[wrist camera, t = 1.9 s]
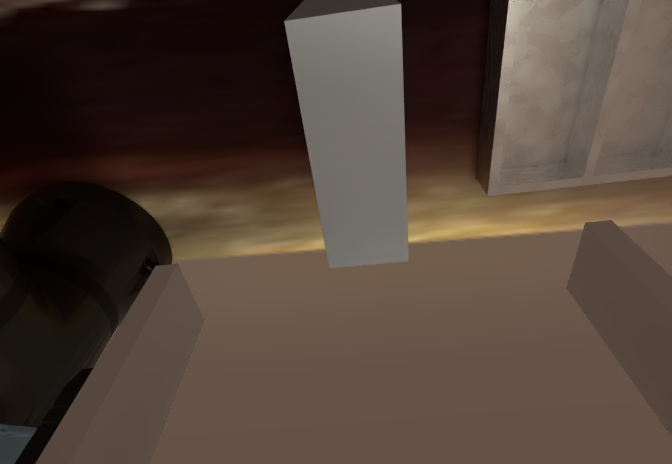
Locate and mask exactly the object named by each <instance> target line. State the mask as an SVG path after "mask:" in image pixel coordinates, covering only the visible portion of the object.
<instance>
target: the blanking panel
mask: <svg viewBox="0 0 672 464" xmlns="http://www.w3.org/2000/svg"><path fill="white" fill-rule="evenodd" d="M284 22H285V28H286V33H287V39H288V44H289V50H290V55H291V61H292V66H293V72H294V77H295V83H296V88H297V93H298V99H299V104H300V110H301V115H302V121H303V126H304V132H305V137H306V143H307V148H308V154H309V159H310V165H311V170H312V176H313V181H314V187H315V192H316V198H317V203H318V209H319V214H320V220H321V225H322V231H323V236H324V241H325V247H326V252H327V258H328V263H329V268H340V267H350V266H360V265H371V264H381V263H391V262H401V261H408V229H407V195H406V160H405V125H404V91H403V56H402V22H401V3H399V2H397V1H396V0H304V1H303V2H302V3H301V4H300V5H299V6H298V7H297V8H296V9H295V10H294V11H293V13H292V14H291V15H290V16H289V17H288V18H287V19H286V20H285V21H284Z"/></svg>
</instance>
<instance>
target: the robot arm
mask: <svg viewBox="0 0 672 464" xmlns="http://www.w3.org/2000/svg"><path fill="white" fill-rule="evenodd" d="M171 263H172V255H171V249H170V246H169V243H168V241H167V238H166V236H165V234H164V233H163V231H162V230H161V228H160V227H159V225H158V224H157V223H156V222H155V221H154V220H153V218H152V217H151V216H150V215H149V214H147V213H146V212H145V211H144V210H143V209H142V208H140V207H139V206H138V205H136V204H135V203H133V202H132V201H130V200H129V199H127V198H125V197H123V196H121V195H119V194H117V193H115V192H113V191H110V190H108V189H105V188H102V187H99V186H95V185H90V184H85V183H75V182H65V183H57V184H52V185H48V186H45V187H43V188H41V189H39V190H37V191H35V192H34V193H33V194H31V195H30V196H29V197H27V198H26V199H25V200H23V201H22V202H21V203H19V204H18V205H17V206H16V207H15V209H14V210H13V211H12V212H11V214H10V215H9V217H8V219H7V221H6V223H5V225H4V227H3V228H2V230H1V232H0V464H150V461H151V459H152V456H153V454H154V451H155V448H156V445H157V443H158V440H159V438H160V435H161V432H162V430H163V427H164V424H165V422H166V419H167V417H168V414H169V411H170V409H171V406H172V403H173V401H174V398H175V396H176V393H177V390H178V388H179V384H180V382H181V380H182V377H183V375H184V372H185V369H186V367H187V364H188V361H189V359H190V356H191V353H192V351H193V348H194V346H195V343H196V340H197V338H198V335H199V332H200V330H201V327H202V324H203V322H204V318H203V317H202V314H201V312H200V310H199V308H198V306H197V304H196V302H195V299H194V297H193V295H192V293H191V291H190V289H189V287H188V285H187V283H186V280H185V278H184V276H183V274H182V272H181V270H180V268H179V265H178V264H171ZM567 290H568V291H569V292H570V294H571V295H572V297H573V298H574V299H575V301H576V302H577V304H578V305H579V306H580V308H581V309H582V311H583V312H584V314H585V315H586V316H587V318H588V319H589V320H590V322H591V324H592V325H593V326H594V328H595V329H596V331H597V332H598V333H599V335H600V336H601V338H602V339H603V341H604V342H605V343H606V345H607V346H608V348H609V349H610V350H611V352H612V353H613V355H614V356H615V357H616V359H617V360H618V362H619V363H620V364H621V366H622V367H623V369H624V370H625V372H626V373H627V374H628V376H629V377H630V379H631V380H632V381H633V383H634V384H635V386H636V387H637V389H638V390H639V392H640V393H641V394H642V396H643V397H644V398H645V400H646V401H647V403H648V404H649V406H650V407H651V409H652V410H653V411H654V413H655V414H656V416H657V417H658V418H659V420H660V421H661V423H662V424H663V425H664V427H665V428H666V430H667V431H668V432H669V434H670V435H671V437H672V276H671V275H669V274H668V273H667V272H666V271H665V270H664V269H663V268H662V267H661V266H660V265H659V264H658V263H656V261H654V260H653V259H652V258H651V257H650V256H649V255H648V254H647V253H646V252H645V251H644V250H643V249H642V248H641V247H639V246H638V245H637V244H636V243H635V242H634V241H633V240H632V239H631V238H630V237H629V236H628V235H627V234H626V233H624V232H623V231H622V230H621V229H620V228H619V227H618V226H617V225H616V224H615V223H614V222H613V221H612V220H608V221H598V222H588V223H585V226H584V229H583V233H582V236H581V240H580V243H579V246H578V250H577V253H576V257H575V261H574V264H573V267H572V271H571V274H570V278H569V281H568V285H567ZM119 325H120V326H119ZM118 326H119V327H118ZM117 327H118V329H117V331H116V332H115V330H116V328H117ZM114 332H115V334H114V336H113V337H112V335H113V333H114ZM111 337H112V339H111V340H110V338H111ZM109 340H110V342H109V344H108V345H107V343H108V341H109ZM106 345H107V347H106ZM105 347H106V349H105ZM104 349H105V350H104ZM103 350H104V352H103ZM102 352H103V354H102ZM101 354H102V355H101ZM100 355H101V357H100ZM99 357H100V359H99ZM98 359H99V360H98ZM97 361H98V362H97ZM96 362H97V364H96ZM95 364H96V365H95ZM94 366H95V367H94ZM93 367H94V368H93Z"/></svg>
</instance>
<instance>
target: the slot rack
mask: <svg viewBox="0 0 672 464" xmlns="http://www.w3.org/2000/svg"><path fill="white" fill-rule="evenodd" d="M664 176H672V0H491V4H490V16H489V27H488V39H487V51H486V62H485V74H484V86H483V97H482V109H481V121H480V132H479V144H478V156H477V167H476V179H477V181H478V182H479V184H480V185H481V187H482V188H483V190H484V191H485V193H486V194H487V196H492V195H501V194H510V193H519V192H528V191H537V190H546V189H555V188H564V187H573V186H582V185H591V184H600V183H610V182H619V181H628V180H637V179H646V178H655V177H664Z"/></svg>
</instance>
